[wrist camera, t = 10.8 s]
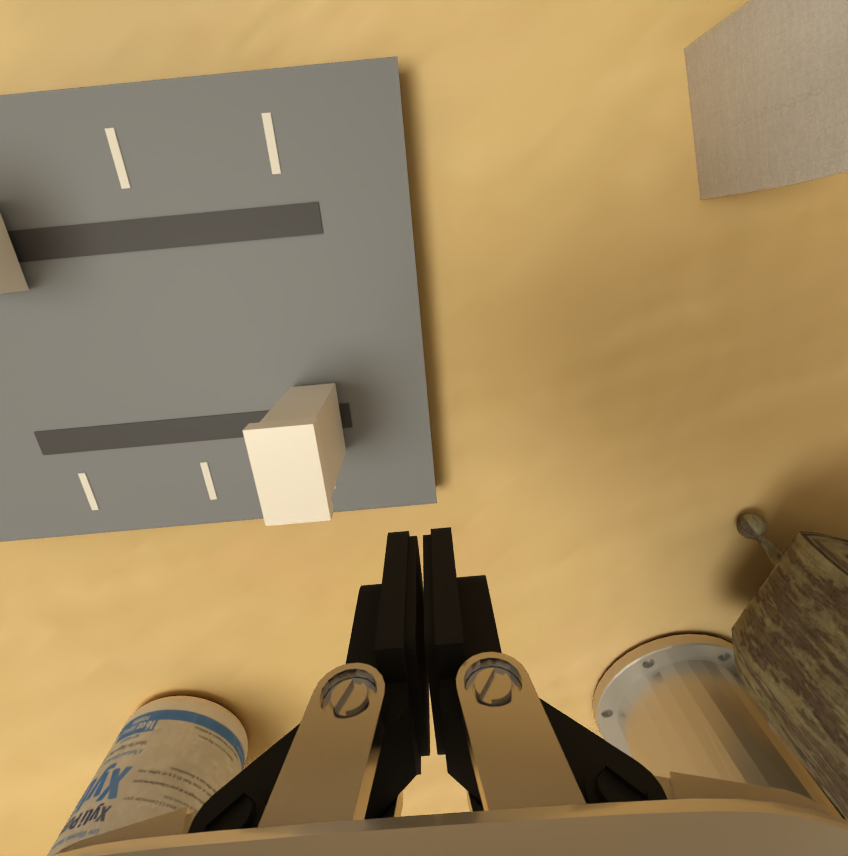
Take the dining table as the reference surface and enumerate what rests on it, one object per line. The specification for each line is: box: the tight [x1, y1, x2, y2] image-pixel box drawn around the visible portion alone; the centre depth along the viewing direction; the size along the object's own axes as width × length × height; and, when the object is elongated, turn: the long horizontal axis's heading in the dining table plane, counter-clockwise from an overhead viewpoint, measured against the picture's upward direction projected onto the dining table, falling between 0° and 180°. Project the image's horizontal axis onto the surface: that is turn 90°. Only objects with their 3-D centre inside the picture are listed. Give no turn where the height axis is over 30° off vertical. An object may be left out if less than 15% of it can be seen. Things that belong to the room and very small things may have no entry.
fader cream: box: [242, 383, 346, 526], centre depth 23 cm, size 3×4×7 cm, turn 5°
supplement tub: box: [47, 696, 248, 856], centre depth 31 cm, size 10×10×15 cm
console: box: [0, 57, 437, 542], centre depth 25 cm, size 28×22×2 cm
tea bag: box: [684, 0, 848, 200], centre depth 18 cm, size 4×7×10 cm, turn 19°
